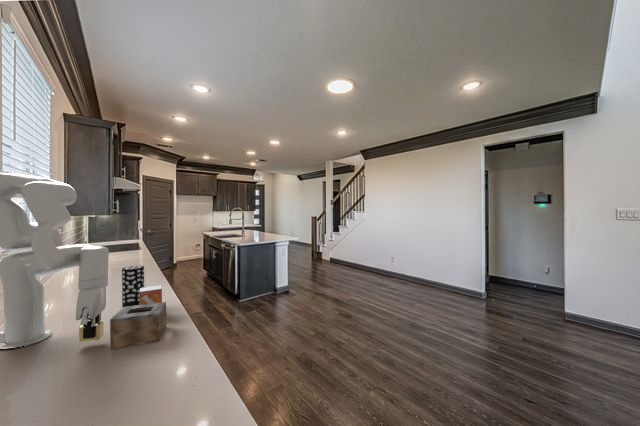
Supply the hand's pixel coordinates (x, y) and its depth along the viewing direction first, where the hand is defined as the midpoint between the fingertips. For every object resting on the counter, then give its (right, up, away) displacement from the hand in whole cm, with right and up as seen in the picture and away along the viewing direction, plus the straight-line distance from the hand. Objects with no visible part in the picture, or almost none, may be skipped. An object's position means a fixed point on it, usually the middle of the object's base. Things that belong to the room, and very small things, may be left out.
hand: (91, 335), depth 87 cm
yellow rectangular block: (0, -1, 0) cm, 1 cm away
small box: (+6, -3, +22) cm, 23 cm away
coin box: (+13, -3, +5) cm, 15 cm away
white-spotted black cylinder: (-8, -3, +31) cm, 32 cm away
